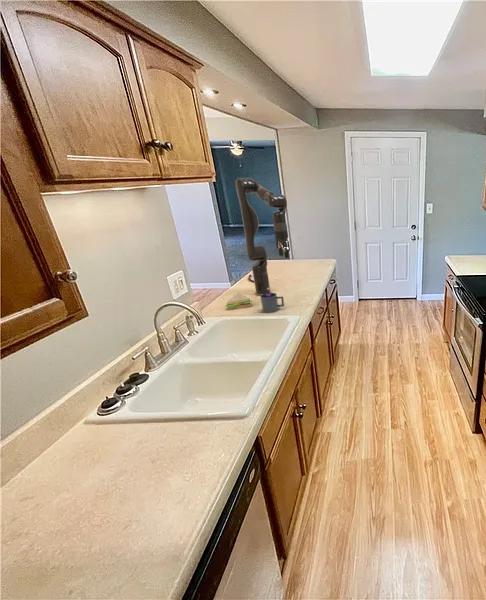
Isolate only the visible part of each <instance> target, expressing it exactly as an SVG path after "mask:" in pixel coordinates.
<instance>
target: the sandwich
mask: <svg viewBox="0 0 486 600" xmlns="http://www.w3.org/2000/svg"><path fill="white" fill-rule="evenodd" d="M251 303H253V300H251V298H249V296H246V295H245V294H242V293H241V292H240V291H239V292H236V294H234V295H233V296H231V298H230V299H228V300H227V301H226V305H225V306H224V308H227V310H234V309H241V308H251V307H252V304H251Z"/></svg>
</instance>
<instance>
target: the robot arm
mask: <svg viewBox="0 0 486 600" xmlns="http://www.w3.org/2000/svg"><path fill="white" fill-rule="evenodd" d="M235 189H236V190H235V191H236V194H237V198H238V201H239V207H240V212H241V219H242V225H243V230H244V231H243V232H244V238H245V249H246V251H245V252H246V257H247V258H248V260H249V261H251V262H253V261H254V262H255V261H256V262H255V263H254V264H253V265H252V266H251V271H252V274H249V276H248V281H250V282H252V283H253V284H254V289H255V294H256V296H261V295H263V294H266V293H272V292H271V286H270V280H269V272H268V258H267V256H268V255H267V251H266V247H264V246H263V245H261V244H259V245H255V238H256V236H257V232H258V230H259V227H260V226H259V225H260V223H259V217H258V214H257V212H256V211H255V209H254V208H253V206H251V204H250V203H249V201H248V198H247V195H249V194H256V196H257V198H258V199H260V200H261V201H262V202H265V204H267V206H268V207H270V208H273V209H275V208H277V210H276V211H274V212H272V221H273V232H274V238H275V244H276V249H277V250H278V256H279V257H283V256H284V258H285V259H289V258H290V254H289V252H290V251H291V248H290V246H291V245H290V241H289V240H287V239H288V238H289V232H288V225H287V219H286V211H287V207H288V200H287V197H286V196H285V195H284V194H275V193H274V192H273V191H271V190H269V189H267V188H265V187H264V186H262V185H261V184H260V183H259V182H257V181H256V180H255V179H253V178H251V177H237V178H236V179H235ZM252 276H253V280H252V279H251V277H252Z"/></svg>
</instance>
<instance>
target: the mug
mask: <svg viewBox="0 0 486 600" xmlns="http://www.w3.org/2000/svg"><path fill="white" fill-rule="evenodd" d="M266 294H271V296H272V297H269V298H266ZM266 294H263V295H259V297H260V302H261V303H260V304H261V310H262V312H263V313H266V314H271V313H276V312H278V311H279V310H280V309H279V308H282V307H285V302H284V301H285V300H284V296H278V294H277V293H276V292H271V293H266ZM280 299H281V300H280ZM278 300H280V301H281V304H279V301H278Z"/></svg>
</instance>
